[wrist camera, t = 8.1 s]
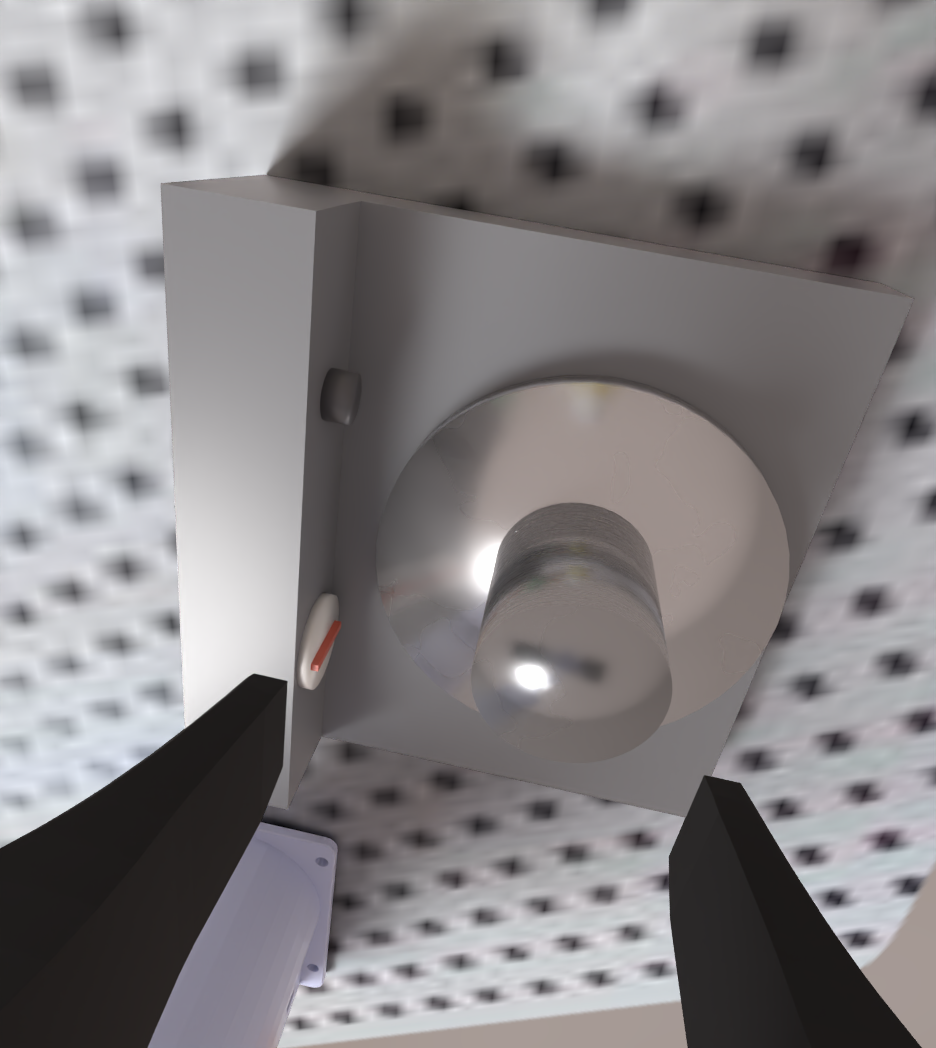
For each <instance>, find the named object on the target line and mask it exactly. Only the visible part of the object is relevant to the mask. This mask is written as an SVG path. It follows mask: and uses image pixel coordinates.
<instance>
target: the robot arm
mask: <svg viewBox="0 0 936 1048" xmlns="http://www.w3.org/2000/svg"><path fill="white" fill-rule="evenodd" d="M287 684H288V681H286V680H281V679H277V678H272V677H268V676H264V675H259V674H255V673H254V674H252V675H250V676H248V677H247V678H246V679H245V680H243V681H242V682H241V683H240V684H239V685H237V686H236V687H235V688H234V689H233V690H232V691H230V692H229V693H228V694H227V695H226V696H224V697H223V698H222V699H221V700H220V701H218V702H217V703H216V704H215V705H214V706H212V707H211V708H210V709H209V710H208V711H206V712H205V713H204V714H203V715H201V716H200V717H199V718H198V719H196V720H195V721H194V722H193V723H191V724H190V725H189V726H188V727H186V728H185V729H184V730H182V731H181V732H180V733H178V734H177V735H176V736H175V737H173V738H172V739H171V740H169V741H168V742H167V743H165V744H164V745H163V746H162V747H160V748H159V749H158V750H156V751H155V752H154V753H152V754H151V755H150V756H148V757H147V758H145V759H144V760H143V761H141V762H140V763H138V764H137V765H135V766H134V767H132V768H131V769H130V770H128V771H127V772H125V773H124V774H122V775H121V776H120V777H118V778H117V779H115V780H114V781H112V782H111V783H110V784H108V785H107V786H105V787H104V788H102V789H101V790H99V791H98V792H96V793H94V794H93V795H91V796H90V797H88V798H87V799H85V800H84V801H82V802H80V803H79V804H77V805H76V806H74V807H72V808H71V809H69V810H67V811H66V812H64V813H62V814H61V815H59V816H57V817H56V818H54V819H52V820H51V821H49V822H47V823H46V824H44V825H42V826H40V827H39V828H37V829H35V830H33V831H31V832H29V833H28V834H26V835H24V836H22V837H20V838H18V839H17V840H15V841H13V842H11V843H9V844H7V845H6V846H4V847H2V848H0V1048H277V1047H278V1044H279V1041H280V1038H281V1035H282V1032H283V1029H284V1026H285V1024H286V1021H287V1018H288V1015H289V1012H290V1009H291V1006H292V1003H293V1001H294V998H295V995H296V992H297V989H298V986H299V984H301V985H305V986H309V987H315V988H316V987H320V986H321V985H322V984H323V982H324V979H325V975H326V965H327V954H328V944H329V934H330V923H331V913H332V903H333V893H334V882H335V872H336V862H337V851H338V848H337V845H336V843H335V842H334V841H333V840H332V839H330V838H327V837H323V836H319V835H315V834H310V833H306V832H302V831H297V830H293V829H289V828H284V827H280V826H276V825H271V824H267V823H263V822H261V820H262V817H263V815H264V813H265V810H266V808H267V805H268V803H269V801H270V798H271V796H272V793H273V791H274V788H275V786H276V783H277V781H278V778H279V775H280V773H281V770H282V768H283V758H284V740H285V721H286V703H287ZM669 897H670V921H671V929H672V937H673V945H674V952H675V960H676V967H677V975H678V982H679V989H680V996H681V1003H682V1010H683V1017H684V1024H685V1031H686V1039H687V1046H688V1048H922V1047H921V1046H920V1045H919V1044H918V1043H917V1041H916V1040H915V1039H914V1038H913V1036H912V1035H911V1034H910V1033H909V1031H908V1030H907V1029H906V1028H905V1026H904V1025H903V1024H902V1023H901V1022H900V1020H899V1019H898V1018H897V1017H896V1015H895V1014H894V1013H893V1012H892V1010H891V1009H890V1008H889V1007H888V1005H887V1004H886V1003H885V1002H884V1000H883V999H882V998H881V997H880V995H879V994H878V993H877V991H876V990H875V989H874V987H873V986H872V985H871V983H870V982H869V981H868V980H867V978H866V977H865V976H864V974H863V973H862V972H861V970H860V969H859V967H858V966H857V964H856V963H855V962H854V960H853V959H852V957H851V956H850V955H849V953H848V952H847V950H846V949H845V948H844V946H843V945H842V943H841V942H840V941H839V939H838V938H837V936H836V935H835V933H834V932H833V930H832V929H831V927H830V926H829V925H828V923H827V922H826V920H825V919H824V917H823V916H822V914H821V913H820V911H819V909H818V908H817V906H816V905H815V903H814V902H813V900H812V899H811V897H810V896H809V894H808V892H807V891H806V889H805V888H804V886H803V885H802V883H801V882H800V880H799V879H798V877H797V875H796V874H795V872H794V870H793V869H792V867H791V866H790V864H789V862H788V861H787V859H786V858H785V856H784V854H783V853H782V851H781V849H780V848H779V846H778V844H777V843H776V841H775V839H774V838H773V836H772V834H771V833H770V831H769V829H768V828H767V826H766V824H765V823H764V821H763V819H762V818H761V816H760V814H759V813H758V811H757V809H756V808H755V806H754V804H753V803H752V801H751V799H750V798H749V796H748V794H747V793H746V791H745V789H744V788H743V786H742V785H741V783H737V782H733V781H729V780H724V779H720V778H715V777H711V776H706V775H704V776H703V779H702V781H701V783H700V786H699V788H698V790H697V793H696V795H695V797H694V800H693V802H692V804H691V806H690V809H689V811H688V813H687V816H686V818H685V820H684V823H683V825H682V827H681V830H680V832H679V834H678V837H677V839H676V841H675V844H674V846H673V848H672V851H671V853H670V855H669Z"/></svg>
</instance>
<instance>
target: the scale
mask: <svg viewBox="0 0 936 1048" xmlns="http://www.w3.org/2000/svg"><path fill="white" fill-rule="evenodd" d="M161 202H162V225H163V248H164V270H165V293H166V315H167V338H168V360H169V383H170V406H171V428H172V451H173V473H174V496H175V518H176V541H177V563H178V586H179V609H180V631H181V654H182V676H183V699H184V721H185V728H186V727H188V726H189V725H190V724H191V723H193V722H194V721H195V720H196V719H198V718H199V717H200V716H201V715H203V714H204V713H205V712H206V711H208V710H209V709H210V708H211V707H212V706H214V705H215V704H216V703H217V702H218V701H220V700H221V699H222V698H223V697H224V696H226V695H227V694H228V693H229V692H230V691H232V690H233V689H234V688H235V687H236V686H237V685H239V684H240V683H241V682H242V681H243V680H245V679H246V678H247V677H248V676H250V675H252V674H254V673H255V674H259V675H264V676H268V677H272V678H277V679H281V680H286V681H288V684H287V703H286V721H285V740H284V758H283V768H282V770H281V773H280V775H279V778H278V781H277V783H276V786H275V788H274V791H273V793H272V796H271V798H270V801H269V803H268V806H272V807H277V808H281V809H285V810H288V808H289V806H290V804H291V802H292V799H293V797H294V795H295V793H296V791H297V788H298V786H299V784H300V782H301V780H302V777H303V775H304V773H305V771H306V769H307V767H308V764H309V762H310V760H311V758H312V756H313V753H314V751H315V749H316V747H317V745H318V742H319V740H320V738H321V736H323V737H327V738H332V739H336V740H341V741H345V742H350V743H354V744H359V745H363V746H368V747H372V748H377V749H381V750H386V751H390V752H395V753H399V754H404V755H408V756H412V757H417V758H421V759H426V760H430V761H435V762H439V763H444V764H448V765H453V766H457V767H462V768H466V769H471V770H475V771H480V772H484V773H489V774H493V775H498V776H502V777H507V778H511V779H516V780H520V781H525V782H529V783H534V784H538V785H543V786H547V787H552V788H556V789H561V790H565V791H569V792H574V793H578V794H583V795H587V796H592V797H596V798H601V799H605V800H610V801H614V802H619V803H623V804H628V805H632V806H637V807H641V808H646V809H650V810H655V811H659V812H664V813H668V814H673V815H677V816H682V817H686V816H687V813H688V811H689V809H690V806H691V804H692V802H693V800H694V797H695V795H696V793H697V790H698V788H699V786H700V783H701V781H702V779H703V776H704V775H706V776H712V773H713V771H714V769H715V766H716V764H717V762H718V759H719V757H720V755H721V752H722V750H723V748H724V745H725V743H726V740H727V738H728V736H729V733H730V731H731V729H732V726H733V724H734V722H735V719H736V717H737V715H738V712H739V710H740V708H741V705H742V703H743V701H744V698H745V696H746V693H747V691H748V689H749V686H750V684H751V682H752V679H753V677H754V675H755V672H756V670H757V668H758V665H759V663H760V661H761V658H762V656H763V653H764V651H765V649H766V647H765V649H764V650H763V652H762V653H761V654H760V656H759V657H758V659H757V660H756V661H755V663H754V664H753V665H752V666H751V668H750V669H749V670H748V671H747V672H746V673H745V674H744V675H743V676H742V677H741V678H740V679H739V680H738V681H737V682H736V683H735V684H734V685H733V686H731V687H730V688H729V689H728V690H727V691H725V692H724V693H723V694H722V695H721V696H719V697H718V698H716V699H715V700H713V701H712V702H710V703H709V704H707V705H705V706H704V707H702V708H701V709H699V710H697V711H695V712H693V713H691V714H689V715H687V716H685V717H683V718H681V719H679V720H677V721H674V722H671V723H669V724H666V725H663V726H660V727H659V728H658V729H657V730H656V731H655V732H654V733H653V734H652V735H651V737H649V738H648V739H647V740H646V741H645V742H643V743H642V744H641V745H639V746H637V747H636V748H634V749H633V750H631V751H629V752H626V753H624V754H622V755H620V756H617V757H614V758H611V759H607V760H602V761H598V762H589V763H565V762H557V761H551V760H547V759H543V758H539V757H536V756H533V755H531V754H528V753H526V752H524V751H522V750H520V749H518V748H516V747H514V746H513V745H511V744H509V743H508V742H506V741H505V740H504V739H502V738H501V737H500V736H499V735H498V734H496V733H495V732H494V731H493V729H492V728H491V727H490V726H489V725H488V724H487V723H486V721H485V720H484V719H483V717H482V716H481V714H480V713H479V712H477V711H475V710H473V709H471V708H469V707H468V706H466V705H465V704H463V703H461V702H460V701H458V700H457V699H455V698H454V697H452V696H451V695H449V694H448V693H447V692H446V691H444V690H443V689H442V688H441V687H440V686H438V685H437V684H436V683H435V682H433V681H432V680H431V679H430V678H429V677H428V676H427V675H426V674H425V672H424V671H423V670H422V669H421V668H420V667H419V666H418V665H417V664H416V663H415V662H414V660H413V659H412V658H411V656H410V655H409V654H408V652H407V651H406V650H405V648H404V647H403V645H402V644H401V642H400V640H399V639H398V637H397V635H396V633H395V632H394V630H393V628H392V626H391V624H390V621H389V619H388V616H387V614H386V612H385V609H384V606H383V602H382V599H381V595H380V591H379V587H378V580H377V571H376V542H377V536H378V530H379V525H380V520H381V517H382V514H383V511H384V508H385V505H386V502H387V499H388V497H389V495H390V493H391V491H392V489H393V487H394V485H395V483H396V481H397V479H398V477H399V476H400V474H401V472H402V470H403V469H404V467H405V465H406V464H407V462H408V461H409V459H410V458H411V457H412V455H413V454H414V453H415V451H416V450H417V448H418V447H419V446H420V444H421V443H422V442H423V441H424V440H425V439H426V438H427V437H428V436H429V435H430V434H431V433H432V432H433V431H434V430H435V429H436V428H437V427H438V426H439V425H440V424H442V423H443V422H444V421H445V420H447V419H448V418H449V417H451V416H452V415H453V414H454V413H456V412H457V411H458V410H460V409H462V408H463V407H465V406H467V405H469V404H470V403H472V402H474V401H475V400H477V399H479V398H481V397H483V396H485V395H487V394H490V393H492V392H495V391H497V390H500V389H502V388H504V387H507V386H510V385H514V384H518V383H522V382H525V381H529V380H533V379H538V378H545V377H553V376H560V375H598V376H606V377H614V378H622V379H626V380H630V381H634V382H638V383H642V384H646V385H650V386H653V387H655V388H658V389H660V390H663V391H665V392H668V393H670V394H673V395H675V396H678V397H679V398H681V399H683V400H685V401H686V402H688V403H690V404H692V405H693V406H695V407H697V408H699V409H701V410H702V411H704V412H705V413H706V414H708V415H709V416H710V417H711V418H713V419H714V420H715V421H717V422H718V423H719V424H721V425H722V426H723V427H724V428H726V429H727V431H728V432H729V433H730V434H731V435H732V436H733V437H734V438H735V439H736V440H737V441H738V442H739V443H740V444H741V445H742V446H743V447H744V448H745V450H746V451H747V452H748V454H749V455H750V457H751V458H752V459H753V461H754V462H755V464H756V465H757V466H758V468H759V469H760V471H761V473H762V475H763V477H764V479H765V481H766V483H767V485H768V487H769V489H770V491H771V493H772V494H773V496H774V498H775V500H776V502H777V504H778V507H779V510H780V513H781V516H782V519H783V522H784V526H785V529H786V534H787V541H788V547H789V554H790V557H789V583H788V589H787V594H786V599H787V597H788V595H789V592H790V590H791V588H792V585H793V583H794V581H795V578H796V576H797V574H798V571H799V569H800V567H801V564H802V562H803V559H804V557H805V555H806V552H807V550H808V548H809V545H810V543H811V541H812V538H813V536H814V534H815V531H816V529H817V527H818V524H819V522H820V519H821V517H822V515H823V512H824V510H825V508H826V505H827V503H828V501H829V498H830V496H831V494H832V491H833V489H834V487H835V484H836V482H837V480H838V477H839V475H840V472H841V470H842V468H843V465H844V463H845V461H846V458H847V456H848V454H849V451H850V449H851V447H852V444H853V442H854V440H855V437H856V435H857V433H858V430H859V428H860V425H861V423H862V421H863V418H864V416H865V414H866V411H867V409H868V407H869V404H870V402H871V400H872V397H873V395H874V393H875V390H876V388H877V385H878V383H879V381H880V378H881V376H882V374H883V371H884V369H885V367H886V364H887V362H888V360H889V357H890V355H891V353H892V350H893V348H894V346H895V343H896V341H897V338H898V336H899V334H900V331H901V329H902V327H903V324H904V322H905V320H906V317H907V315H908V313H909V310H910V308H911V306H912V303H913V301H914V298H912V297H909V296H907V295H905V294H903V293H901V292H899V291H897V290H894V289H892V288H890V287H888V286H886V285H884V284H881V283H876V282H870V281H865V280H859V279H853V278H848V277H842V276H836V275H831V274H825V273H819V272H814V271H808V270H802V269H797V268H791V267H785V266H780V265H774V264H768V263H763V262H757V261H751V260H746V259H740V258H734V257H729V256H723V255H717V254H712V253H706V252H700V251H695V250H689V249H683V248H677V247H672V246H666V245H660V244H655V243H649V242H643V241H638V240H632V239H626V238H621V237H615V236H609V235H604V234H598V233H592V232H587V231H581V230H575V229H570V228H564V227H558V226H553V225H547V224H541V223H536V222H530V221H524V220H519V219H513V218H507V217H501V216H496V215H490V214H484V213H479V212H473V211H467V210H462V209H456V208H450V207H445V206H439V205H433V204H428V203H422V202H416V201H411V200H405V199H399V198H394V197H388V196H382V195H377V194H371V193H365V192H360V191H354V190H348V189H343V188H337V187H331V186H326V185H320V184H314V183H308V182H303V181H297V180H291V179H286V178H280V177H274V176H269V175H256V176H244V177H232V178H220V179H207V180H195V181H183V182H171V183H161ZM785 602H786V600H785Z"/></svg>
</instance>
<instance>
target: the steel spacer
mask: <svg viewBox="0 0 936 1048" xmlns="http://www.w3.org/2000/svg"><path fill="white" fill-rule="evenodd" d="M471 689H472V694H473V698H474V701H475V704H476V706H477V708H478V710H479V712H480V714H481V716H482V717H483V719H484V720H485V721H486V723H487V724H488V725H489V726H490V727H491V728H492V729H493V731H494V732H495V733H496V734H498V735H499V736H500V737H501V738H502V739H504V740H505V741H506V742H508V743H509V744H511V745H513V746H514V747H516V748H518V749H520V750H522V751H524V752H526V753H528V754H531V755H533V756H536V757H539V758H543V759H547V760H551V761H557V762H565V763H589V762H598V761H602V760H607V759H611V758H614V757H617V756H620V755H622V754H624V753H626V752H629V751H631V750H633V749H634V748H636V747H637V746H639V745H641V744H642V743H643V742H645V741H646V740H647V739H648V738H649V737H651V735H652V734H653V733H654V732H655V731H656V730H657V729H658V728H659V726H660V725H661V723H662V722H663V720H664V718H665V716H666V714H667V712H668V710H669V707H670V703H671V698H672V677H671V671H670V664H669V658H668V652H667V646H666V639H665V633H664V627H663V621H662V614H661V608H660V602H659V596H658V589H657V583H656V577H655V571H654V564H653V560H652V555H651V552H650V550H649V547H648V545H647V543H646V541H645V540H644V538H643V537H642V535H641V534H640V533H639V531H638V530H637V529H636V528H635V527H634V526H633V525H632V524H631V523H630V522H628V521H627V520H626V519H624V518H623V517H622V516H620V515H618V514H616V513H614V512H613V511H610V510H608V509H605V508H603V507H599V506H596V505H592V504H586V503H571V502H570V503H559V504H554V505H549V506H546V507H543V508H540V509H538V510H536V511H534V512H532V513H530V514H528V515H527V516H525V517H523V518H522V519H521V520H519V521H518V522H517V523H516V524H515V525H514V526H513V527H512V528H511V529H510V530H509V531H508V533H507V534H506V536H505V537H504V539H503V540H502V542H501V544H500V546H499V549H498V552H497V556H496V560H495V564H494V569H493V573H492V578H491V583H490V587H489V592H488V596H487V601H486V605H485V610H484V614H483V619H482V624H481V628H480V633H479V637H478V642H477V646H476V651H475V656H474V660H473V665H472V671H471Z"/></svg>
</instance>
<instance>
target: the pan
mask: <svg viewBox="0 0 936 1048" xmlns="http://www.w3.org/2000/svg"><path fill="white" fill-rule="evenodd" d="M570 502H571V503H586V504H592V505H596V506H599V507H603V508H605V509H608V510H610V511H613V512H614V513H616V514H618V515H620V516H622V517H623V518H624V519H626V520H627V521H628V522H630V523H631V524H632V525H633V526H634V527H635V528H636V529H637V530H638V531H639V533H640V534H641V535H642V537H643V538H644V540H645V541H646V543H647V545H648V547H649V550H650V552H651V555H652V560H653V564H654V571H655V577H656V583H657V589H658V596H659V602H660V608H661V614H662V621H663V627H664V633H665V639H666V646H667V652H668V658H669V664H670V671H671V677H672V698H671V703H670V707H669V710H668V712H667V714H666V716H665V718H664V720H663V722H662V723H661V725H660V726H663V725H666V724H669V723H671V722H674V721H677V720H679V719H681V718H683V717H685V716H687V715H689V714H691V713H693V712H695V711H697V710H699V709H701V708H702V707H704V706H705V705H707V704H709V703H710V702H712V701H713V700H715V699H716V698H718V697H719V696H721V695H722V694H723V693H724V692H725V691H727V690H728V689H729V688H730V687H731V686H733V685H734V684H735V683H736V682H737V681H738V680H739V679H740V678H741V677H742V676H743V675H744V674H745V673H746V672H747V671H748V670H749V669H750V668H751V666H752V665H753V664H754V663H755V661H756V660H757V659H758V657H759V656H760V654H761V653H762V652H763V650H764V649H765V647H766V646H767V644H768V642H769V640H770V638H771V636H772V634H773V632H774V631H775V629H776V627H777V625H778V622H779V619H780V616H781V613H782V610H783V607H784V604H785V600H786V594H787V589H788V583H789V557H790V554H789V547H788V541H787V534H786V529H785V526H784V522H783V519H782V516H781V513H780V510H779V507H778V504H777V502H776V500H775V498H774V496H773V494H772V493H771V491H770V489H769V487H768V485H767V483H766V481H765V479H764V477H763V475H762V473H761V471H760V469H759V468H758V466H757V465H756V464H755V462H754V461H753V459H752V458H751V457H750V455H749V454H748V452H747V451H746V450H745V448H744V447H743V446H742V445H741V444H740V443H739V442H738V441H737V440H736V439H735V438H734V437H733V436H732V435H731V434H730V433H729V432H728V431H727V429H726V428H724V427H723V426H722V425H721V424H719V423H718V422H717V421H715V420H714V419H713V418H711V417H710V416H709V415H708V414H706V413H705V412H704V411H702V410H701V409H699V408H697V407H695V406H693V405H692V404H690V403H688V402H686V401H685V400H683V399H681V398H679V397H678V396H675V395H673V394H670V393H668V392H665V391H663V390H660V389H658V388H655V387H653V386H650V385H646V384H642V383H638V382H634V381H630V380H626V379H622V378H614V377H606V376H598V375H560V376H553V377H545V378H538V379H533V380H529V381H525V382H522V383H518V384H514V385H510V386H507V387H504V388H502V389H500V390H497V391H495V392H492V393H490V394H487V395H485V396H483V397H481V398H479V399H477V400H475V401H474V402H472V403H470V404H469V405H467V406H465V407H463V408H462V409H460V410H458V411H457V412H456V413H454V414H453V415H452V416H451V417H449V418H448V419H447V420H445V421H444V422H443V423H442V424H440V425H439V426H438V427H437V428H436V429H435V430H434V431H433V432H432V433H431V434H430V435H429V436H428V437H427V438H426V439H425V440H424V441H423V442H422V443H421V444H420V446H419V447H418V448H417V450H416V451H415V453H414V454H413V455H412V457H411V458H410V459H409V461H408V462H407V464H406V465H405V467H404V469H403V470H402V472H401V474H400V476H399V477H398V479H397V481H396V483H395V485H394V487H393V489H392V491H391V493H390V495H389V497H388V499H387V502H386V505H385V508H384V511H383V514H382V517H381V520H380V525H379V530H378V536H377V542H376V571H377V580H378V587H379V591H380V595H381V599H382V602H383V606H384V609H385V612H386V614H387V616H388V619H389V621H390V624H391V626H392V628H393V630H394V632H395V633H396V635H397V637H398V639H399V640H400V642H401V644H402V645H403V647H404V648H405V650H406V651H407V652H408V654H409V655H410V656H411V658H412V659H413V660H414V662H415V663H416V664H417V665H418V666H419V667H420V668H421V669H422V670H423V671H424V672H425V674H426V675H427V676H428V677H429V678H430V679H431V680H432V681H433V682H435V683H436V684H437V685H438V686H440V687H441V688H442V689H443V690H444V691H446V692H447V693H448V694H449V695H451V696H452V697H454V698H455V699H457V700H458V701H460V702H461V703H463V704H465V705H466V706H468V707H469V708H471V709H473V710H475V711H477V712H479V710H478V708H477V706H476V704H475V701H474V698H473V694H472V689H471V671H472V665H473V660H474V656H475V651H476V646H477V642H478V637H479V633H480V628H481V624H482V619H483V614H484V610H485V605H486V601H487V596H488V592H489V587H490V583H491V578H492V573H493V569H494V564H495V560H496V556H497V552H498V549H499V546H500V544H501V542H502V540H503V539H504V537H505V536H506V534H507V533H508V531H509V530H510V529H511V528H512V527H513V526H514V525H515V524H516V523H517V522H518V521H519V520H521V519H522V518H523V517H525V516H527V515H528V514H530V513H532V512H534V511H536V510H538V509H540V508H543V507H546V506H549V505H554V504H559V503H570ZM479 713H480V712H479ZM660 726H659V727H660Z"/></svg>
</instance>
